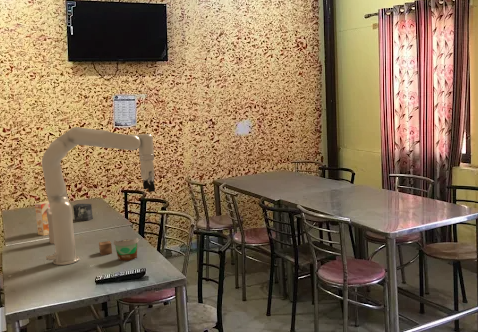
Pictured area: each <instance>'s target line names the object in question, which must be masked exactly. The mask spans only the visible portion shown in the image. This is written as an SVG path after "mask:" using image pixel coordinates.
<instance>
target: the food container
mask: <svg viewBox="0 0 478 332" xmlns="http://www.w3.org/2000/svg"><path fill="white" fill-rule="evenodd" d="M138 243H139V238H138V237H136V238H132V239H129V238H128V239H127V238H126V239H122V240H119V241H118V240H115V239H114V241H113V245H114V247H115V251H116V255H117V256H116V257H117V260H118V261H122V262H129V261H133V260H136V259H137V258H138ZM135 258H136V259H135Z"/></svg>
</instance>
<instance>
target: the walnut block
mask: <svg viewBox="0 0 478 332" xmlns="http://www.w3.org/2000/svg"><path fill="white" fill-rule="evenodd" d="M98 246H99V254H100V255H101V256H105V255H112V254H113V249H112V248H113V247H112V241H111V240H107V241H100V242H98Z"/></svg>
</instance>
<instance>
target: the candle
mask: <svg viewBox="0 0 478 332" xmlns="http://www.w3.org/2000/svg"><path fill="white" fill-rule="evenodd" d="M47 218H48V224H49V235H48V237H49V238H48V239H49V244H52V245H53V244H54V245H55V243H54V233H53V224H52V213H51V209H50V208H47Z"/></svg>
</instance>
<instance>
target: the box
mask: <svg viewBox="0 0 478 332" xmlns="http://www.w3.org/2000/svg"><path fill="white" fill-rule="evenodd" d="M72 210H73V216H74V217H73V219H74V221H76V222H77V221H82V222H84V221H85V222H88V221H91V220H93V218H94V217H93V208H92V203H76V204H74V205H72Z"/></svg>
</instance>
